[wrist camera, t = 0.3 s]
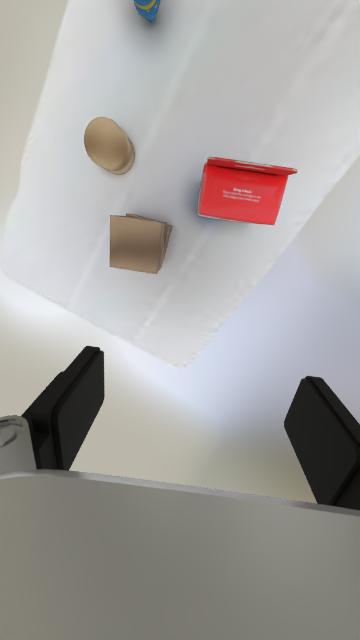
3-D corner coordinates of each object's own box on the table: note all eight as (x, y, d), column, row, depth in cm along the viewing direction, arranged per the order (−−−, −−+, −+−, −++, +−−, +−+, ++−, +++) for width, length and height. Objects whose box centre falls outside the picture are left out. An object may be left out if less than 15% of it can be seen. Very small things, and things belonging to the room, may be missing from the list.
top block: (122, 215, 31) (110, 215, 26) (166, 222, 31) (161, 223, 26) (121, 260, 33) (109, 266, 29) (161, 266, 33) (156, 273, 29)
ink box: (195, 216, 35) (196, 214, 22) (201, 179, 33) (205, 151, 20) (250, 224, 35) (285, 226, 22) (259, 187, 33) (303, 165, 20)
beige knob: (102, 126, 31) (86, 111, 27) (137, 138, 32) (128, 124, 27) (97, 168, 33) (82, 160, 29) (131, 179, 34) (120, 172, 29)
